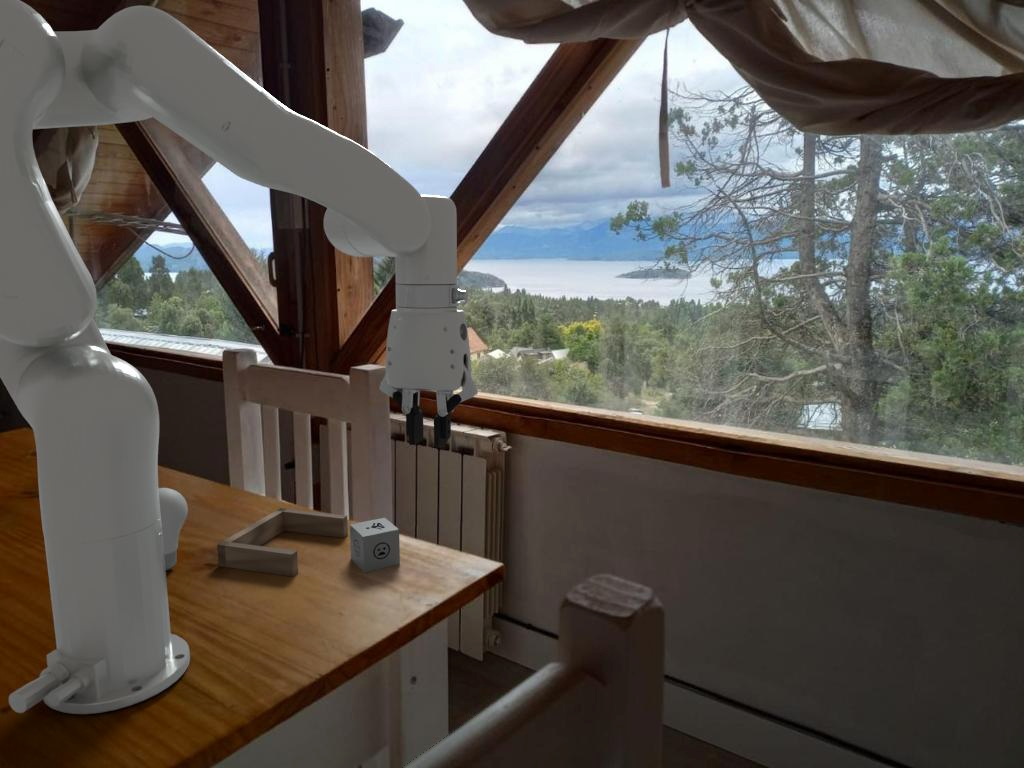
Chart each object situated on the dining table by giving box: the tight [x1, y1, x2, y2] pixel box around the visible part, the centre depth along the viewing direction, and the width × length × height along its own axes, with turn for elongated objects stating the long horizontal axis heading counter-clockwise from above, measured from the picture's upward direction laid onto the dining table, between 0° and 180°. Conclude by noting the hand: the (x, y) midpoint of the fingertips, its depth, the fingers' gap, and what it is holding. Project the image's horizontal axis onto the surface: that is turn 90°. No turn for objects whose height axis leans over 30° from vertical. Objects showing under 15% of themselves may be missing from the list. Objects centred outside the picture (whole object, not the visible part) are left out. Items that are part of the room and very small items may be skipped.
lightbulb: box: [158, 487, 189, 571], centre depth 91 cm, size 6×6×11 cm
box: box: [216, 507, 349, 577], centre depth 98 cm, size 14×11×3 cm
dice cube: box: [349, 517, 401, 573], centre depth 94 cm, size 5×5×5 cm
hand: (428, 442), depth 89 cm, fingers closed
